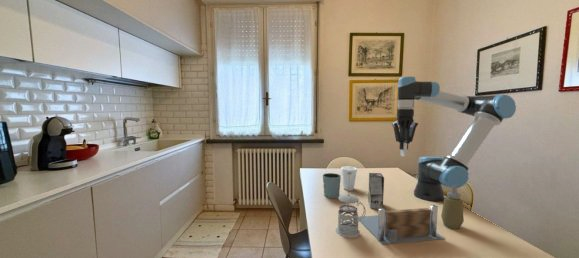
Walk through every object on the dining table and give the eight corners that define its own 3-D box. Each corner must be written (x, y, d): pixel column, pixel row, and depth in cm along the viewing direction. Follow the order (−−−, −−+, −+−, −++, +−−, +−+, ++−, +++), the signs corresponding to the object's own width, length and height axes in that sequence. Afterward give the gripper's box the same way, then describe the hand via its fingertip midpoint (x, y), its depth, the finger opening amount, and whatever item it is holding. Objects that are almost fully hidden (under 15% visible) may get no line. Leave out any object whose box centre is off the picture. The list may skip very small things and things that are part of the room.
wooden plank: (426, 232, 97) (428, 207, 97) (430, 235, 96) (431, 209, 95) (384, 236, 94) (385, 210, 94) (387, 238, 93) (388, 212, 92)
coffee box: (383, 209, 122) (384, 177, 121) (369, 208, 123) (370, 176, 122) (380, 202, 131) (381, 173, 130) (367, 201, 132) (368, 172, 131)
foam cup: (357, 191, 150) (358, 170, 148) (342, 190, 150) (343, 169, 149) (354, 186, 159) (354, 166, 158) (339, 186, 159) (340, 166, 158)
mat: (407, 213, 117) (407, 213, 117) (445, 239, 94) (445, 238, 94) (355, 217, 113) (356, 216, 113) (382, 244, 90) (382, 243, 90)
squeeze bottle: (436, 223, 107) (438, 183, 106) (448, 220, 110) (451, 181, 109) (455, 232, 100) (457, 188, 98) (467, 228, 103) (470, 186, 101)
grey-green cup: (344, 196, 140) (344, 176, 139) (331, 200, 134) (331, 178, 133) (331, 191, 148) (331, 172, 147) (318, 194, 142) (319, 174, 142)
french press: (333, 225, 105) (334, 167, 103) (361, 226, 105) (362, 168, 103) (337, 237, 95) (338, 174, 93) (367, 238, 95) (369, 174, 93)
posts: (433, 233, 98) (434, 204, 97) (440, 238, 94) (442, 208, 94) (376, 238, 94) (377, 208, 93) (381, 243, 91) (382, 212, 90)
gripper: (412, 108, 126) (410, 154, 128) (389, 108, 124) (387, 154, 126) (422, 108, 119) (420, 157, 120) (397, 108, 117) (395, 157, 118)
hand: (403, 155), depth 123 cm, fingers closed
